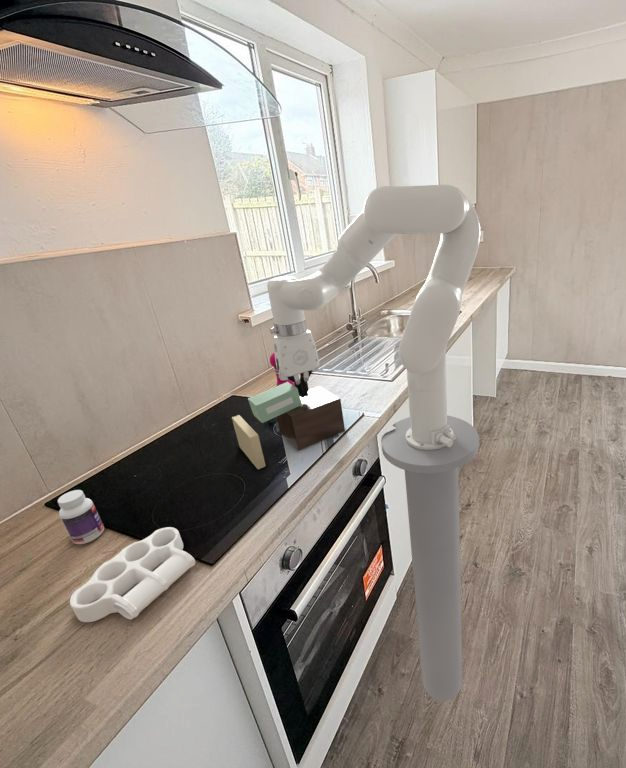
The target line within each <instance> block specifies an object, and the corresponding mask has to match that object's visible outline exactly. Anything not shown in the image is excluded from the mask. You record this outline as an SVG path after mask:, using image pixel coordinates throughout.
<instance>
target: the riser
mask: <svg viewBox="0 0 626 768" xmlns="http://www.w3.org/2000/svg"><path fill="white" fill-rule="evenodd" d="M308 389H309V391H307V392H308V396H304V397H303V398H302V397H301V396H300V399H301V403H302V405H301V406H299V407H296V408H294V409H292V410H290V411H288V412H286V413H283V414H281V415H279V416H277V417H276V420H277V426H278V430H279V434H280V435H281V436H282V437H283V438H284V439H286V440H287V442H289V443H290V445H292V446H293V447H294V448H295V449H296V451H301V450H303V449H306V448H308V447H310V446H313V445H315V444H317V443H320V442H322V441H325V440H327V439H329V438H332V437H334V436H336V435H339V434H341V433H344V432H345V431H346V428H345V427H346V426H345V420H344V414H343V406H342V400H341V398H340V397H339V396H338V395H335V394H334V393H332V392H330V391H329V390H327V389H326V388H324V387H322V386H321V385H318V386H315V387H312V388H308Z"/></svg>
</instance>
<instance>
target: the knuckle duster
mask: <svg viewBox="0 0 626 768" xmlns="http://www.w3.org/2000/svg"><path fill="white" fill-rule="evenodd" d="M183 549H184V542H183V540H182V537H181V534H180V532H179V530H178V529H177V528H175V527H173V526H167V527H166V526H165V527H161V528H158V529H156V530H154V531H153V532H152V533H151V534H150V535H148V536H147V537H145V538H143V539H142V540H139V541H135V542H132V543H131V544H129V545H127V546H126V547H123V548H122V549H121V550H120V551H119V553H118V554H116V555H115V556H114V557H113V558H111V559H109V560H107V561H104V562H103V563H102V564H100V566H99V567H97V569H96V570H94V572H93V574H92V576H91V577H90V578H89V580H88V581H86V582H85V584H83V585H82V586H80V587H78V588H77V589H75V590H74V591H73V592H72V595H71V596H70V599H69V605H70V608H71V609H72V611H73V613H74V614H75V616H76V618H77V619H78V620H79V622H81V623H93V622H96V621H99V620H102V619H104V618H105V617H107V616H109V615H110V614H115V613H119V615H121V616H122V617H124V618H126V619H127V620H130V621H131V620H133V619H135V618H137V617H138V616H139V615H140V613H141V612H143V611H144V610H145V609H146V607H148V606H149V605H150V604H151V603H152V602H154V600H156V599H157V598H158V597H159V596H160V595H161V594H163V593H164V592H165V591H167V590H168V589H170V588H169V587H171V586H172V584H174V583H175V582H176V581H177V580H178V579H179V578H180V577H181V576H183V575H184V574H185V573H186V572H187V571H188V570H190V568H193V566H195V565H196V563H197V562H196V559H195V558H194V557H193V555H191V554H190V553H188V552H187V551H185V550H183Z"/></svg>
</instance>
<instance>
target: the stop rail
mask: <svg viewBox="0 0 626 768" xmlns="http://www.w3.org/2000/svg"><path fill="white" fill-rule="evenodd" d="M231 420H232V424H233V428H234V431H235V435H236V439H237V442H238V447H239V448H240V450H241V451H242V452H243V453H244V454H245V456H246V457H247V458H248V459H249V461H250V462H251V463H252V464H253V466H254V467H255V468H256V469H257V470H261V469H263V468H266V466H267V465H266V461H265V457H264V453H263V449H262V445H261V441H260V436H259V434H258V433H257V432H256V431H255V430H254V428H252V426H250V425H249V423H248V422H247V421H246V420H245V419H244V418H243V417H242V416H241V415H240V414H238V415H237V414H236V415H235V416H232V417H231Z"/></svg>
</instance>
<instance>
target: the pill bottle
mask: <svg viewBox="0 0 626 768" xmlns="http://www.w3.org/2000/svg"><path fill="white" fill-rule="evenodd" d="M57 504H58V506H59V508H60V509H59V511H58V516H59V518H60V520H61V522H62V524H63V526H64V528H65V530H66V531H67V534H68V536H69V538H70V540H71V542H72V544H75V545H85V544H88V543H90V542H93V541H94V540H97V538H99V537H100V536H101V535H102V534H103V533H104V531H105V526H104V523H103V521H102V519H101V516H100V514H99V512H98V510H97V508H96V506H95V504H94V502H93V500H92V499H90V497H89V498H88V497H86V495H85V493H84V491H83V490H81V489H74V490H70V491H68V492H66V493H64V494H62V495H61V496H59V497H58V499H57Z"/></svg>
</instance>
